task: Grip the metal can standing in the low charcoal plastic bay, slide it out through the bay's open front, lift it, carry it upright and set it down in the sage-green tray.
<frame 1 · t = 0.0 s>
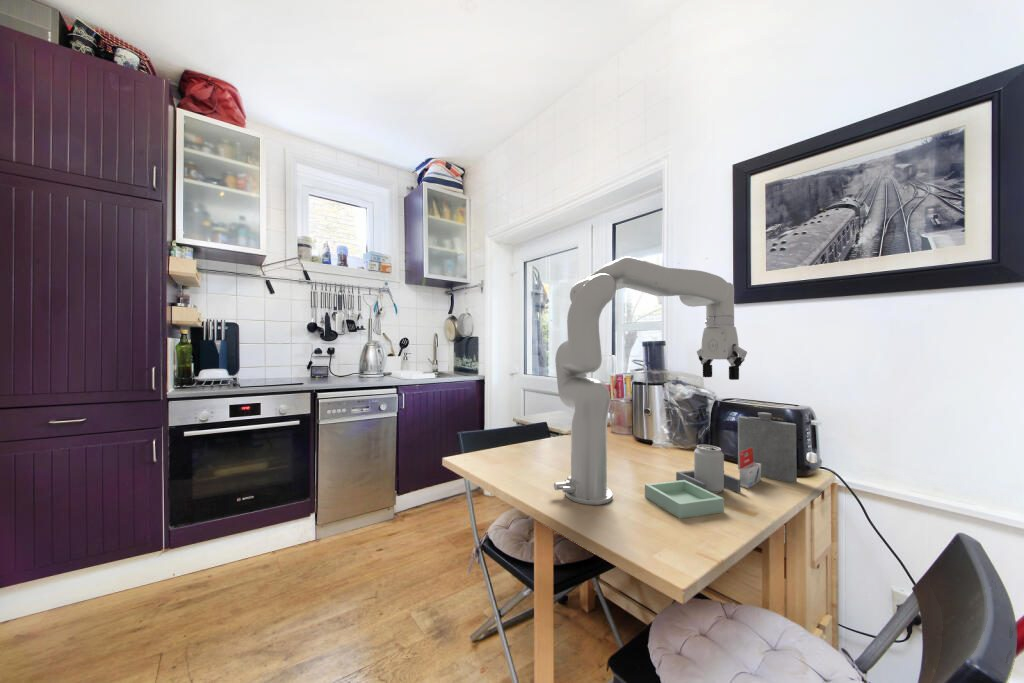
hand: (720, 378, 110), 31 cm above the table, tool pointing down, fingers open, 9 cm apart
tray: (682, 503, 92), on the table
can: (708, 489, 103), on the table
bay: (708, 488, 103), on the table
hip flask: (765, 475, 114), on the table
ink cartridge box: (750, 484, 107), on the table
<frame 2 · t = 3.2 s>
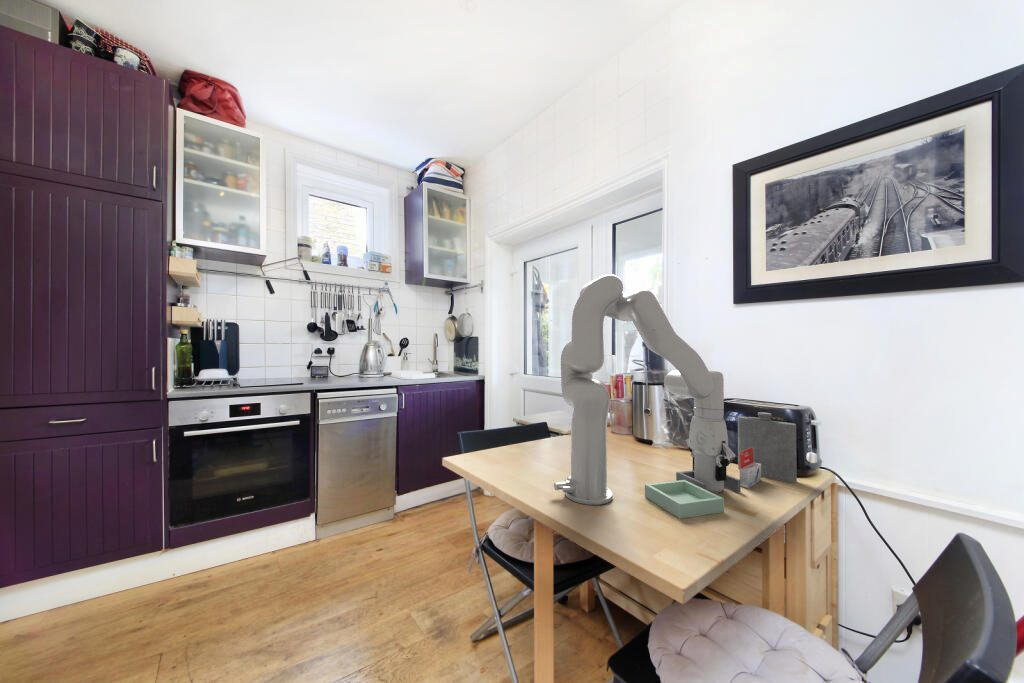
hand: (709, 474, 103), 4 cm above the table, tool pointing down, fingers closed on can, 7 cm apart
can: (709, 489, 103), on the table, touching gripper
everything else where it was.
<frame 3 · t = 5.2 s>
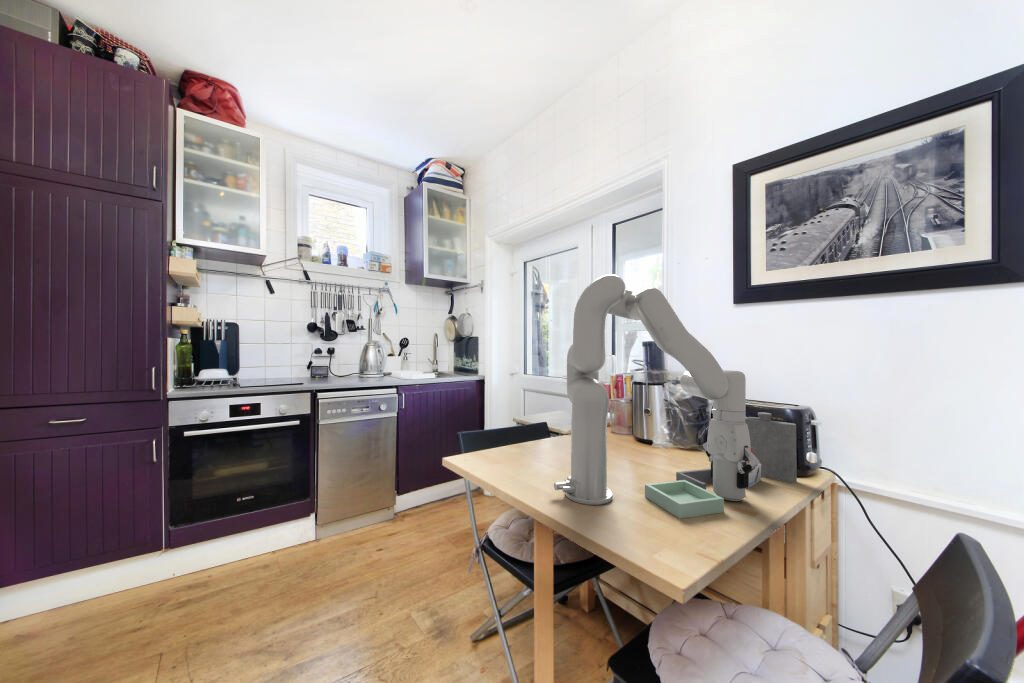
hand: (728, 481, 96), 4 cm above the table, tool pointing down, fingers closed on can, 7 cm apart
can: (728, 497, 96), on the table, touching gripper
everything else where it was.
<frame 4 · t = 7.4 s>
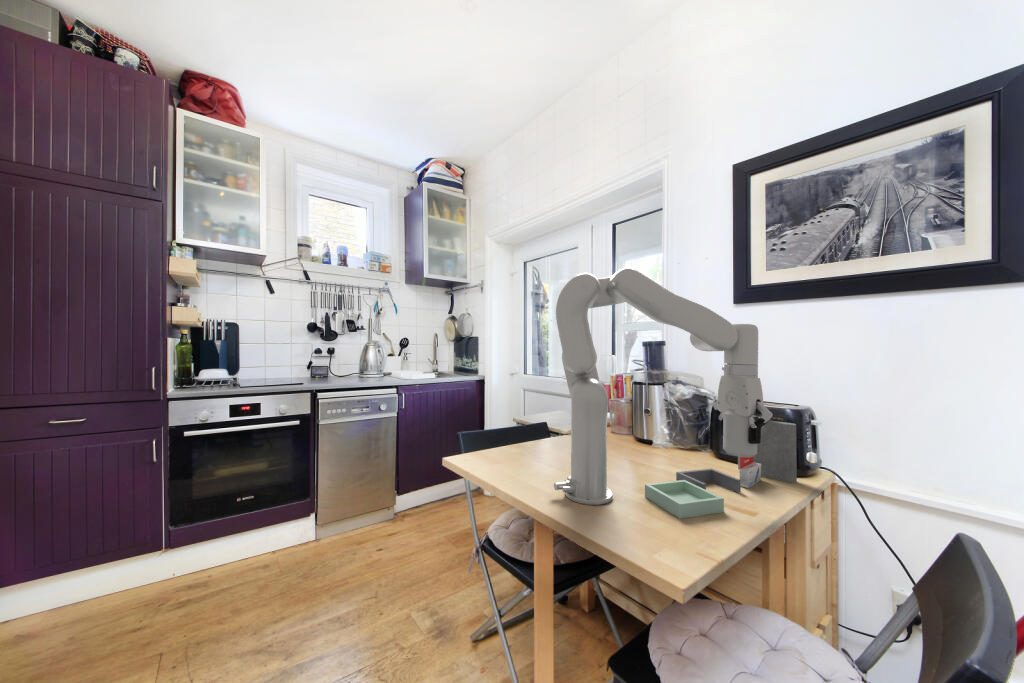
hand: (739, 438, 93), 17 cm above the table, tool pointing down, fingers closed on can, 7 cm apart
can: (739, 454, 93), point 13 cm above the table, touching gripper
everything else where it was.
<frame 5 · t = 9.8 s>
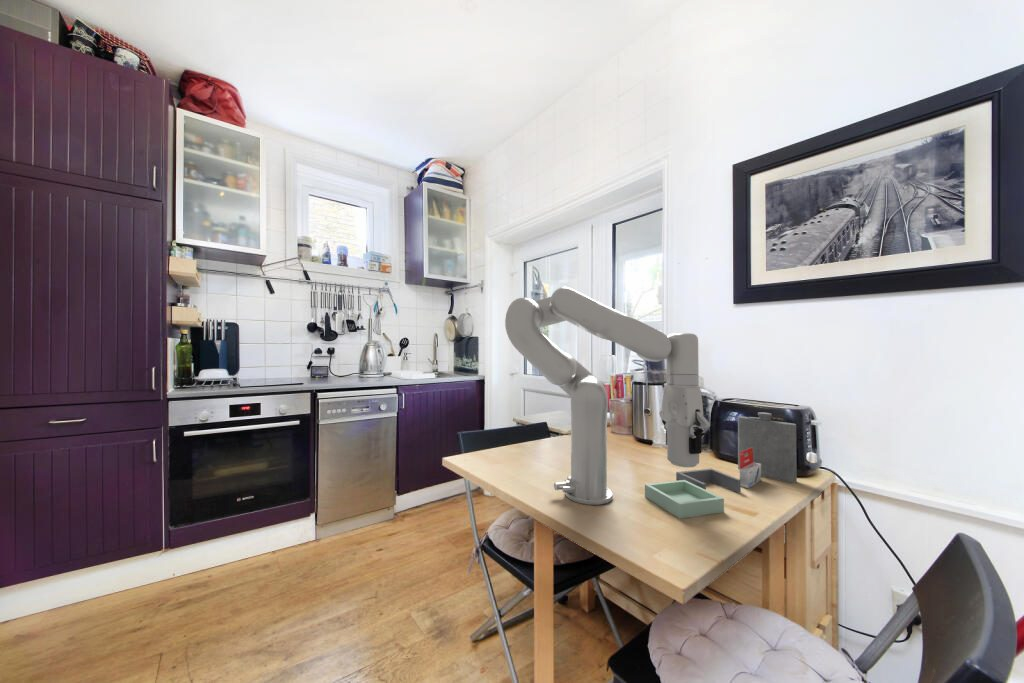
hand: (683, 448, 92), 14 cm above the table, tool pointing down, fingers closed on can, 7 cm apart
can: (683, 464, 92), point 10 cm above the table, touching gripper
everything else where it was.
when the fingers open (6 cm above the table, at t = 11.7 s): can drops 1 cm, resting on tray.
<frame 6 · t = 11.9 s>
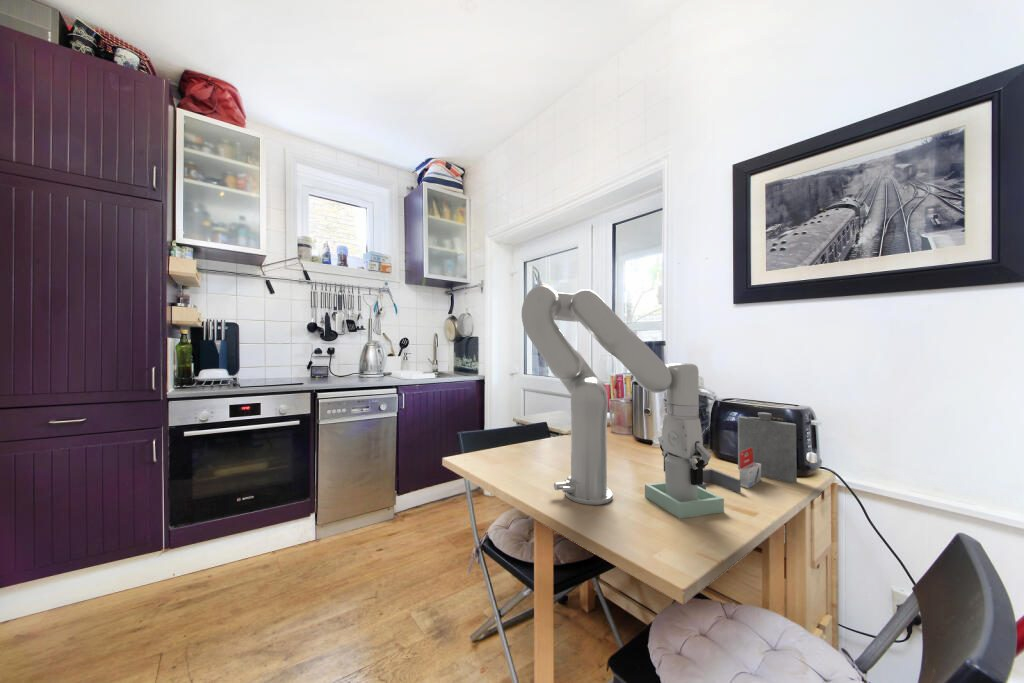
hand: (682, 477, 92), 7 cm above the table, tool pointing down, fingers open, 9 cm apart
can: (681, 500, 92), point 1 cm above the table, touching tray
everything else where it was.
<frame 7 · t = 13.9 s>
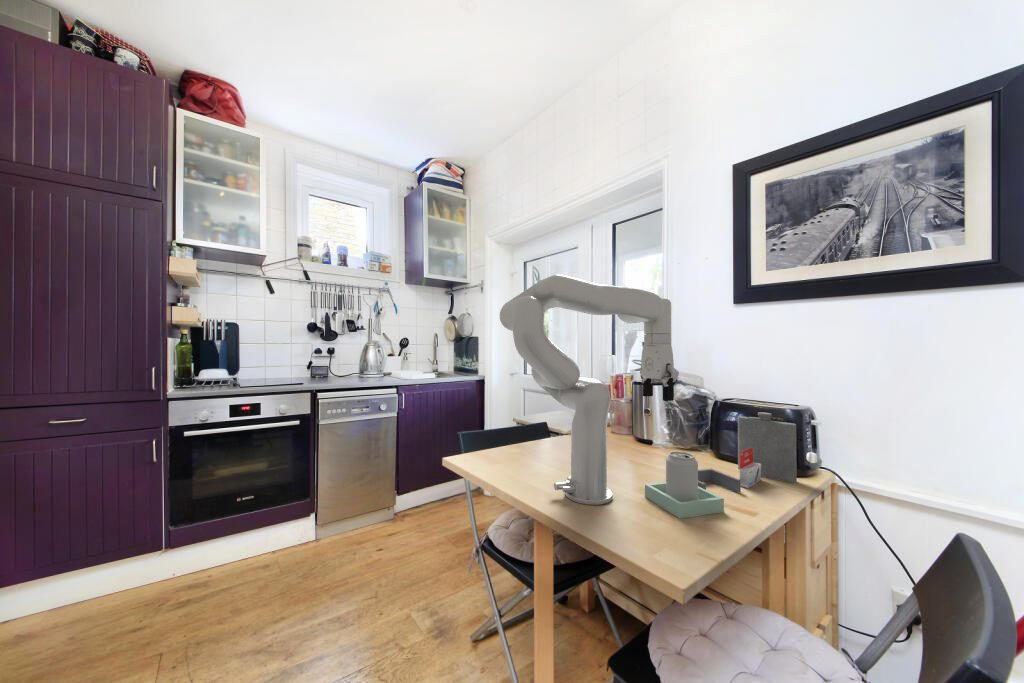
hand: (657, 398, 106), 25 cm above the table, tool pointing down, fingers open, 9 cm apart
nothing on the table moved.
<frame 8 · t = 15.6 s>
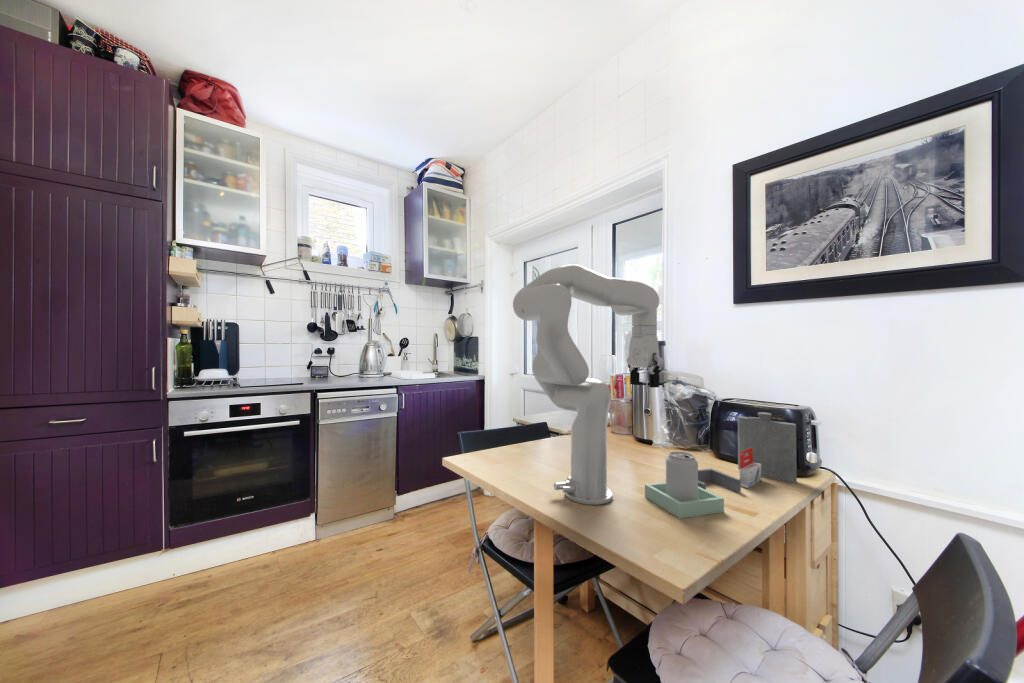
hand: (644, 385, 114), 28 cm above the table, tool pointing down, fingers open, 9 cm apart
nothing on the table moved.
at the end: can 0.2 cm off-centre on the tray, point 0.6 cm above the tray's base; can tilted 0°; the gripper is holding nothing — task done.
